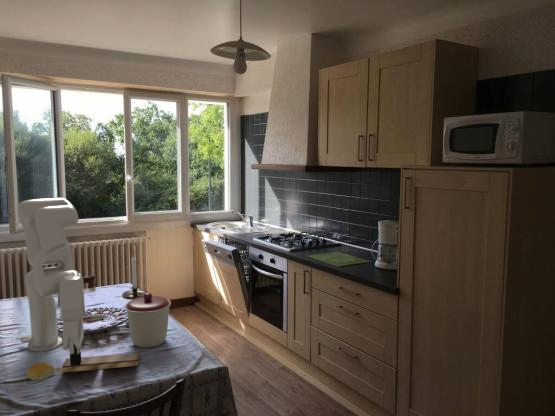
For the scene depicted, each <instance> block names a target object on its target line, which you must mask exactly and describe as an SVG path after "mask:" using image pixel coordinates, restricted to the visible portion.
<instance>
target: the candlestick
mask: <svg viewBox="0 0 555 416" xmlns="http://www.w3.org/2000/svg"><path fill="white" fill-rule="evenodd" d="M131 253H132V257H131V277H132V278H131V281H132V283H131V287H129V288H130V290H127V291H124V292H123V293H122V296H121V297H122V298H123V299H125V300H129V301H131V300H133V299H136V298H139V297H143V296H144V294H145V293H148V291H147V290H145V289H139V288H140V286H138V280H137V278H138V277H137V258H136V257H135V253H134V250H133V249H132V248H131ZM125 327H126V328H129V322H128V320H127V321H126V322H125Z"/></svg>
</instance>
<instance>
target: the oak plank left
mask: <svg viewBox="0 0 555 416" xmlns="http://www.w3.org/2000/svg"><path fill="white" fill-rule="evenodd" d="M92 370H100V369H99V365H88V366H77V367H65V368H62V367H57V368H56V374H62V373H70V372H80V371H81V372H82V371H83V372H84V371H92Z"/></svg>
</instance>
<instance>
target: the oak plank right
mask: <svg viewBox="0 0 555 416" xmlns="http://www.w3.org/2000/svg"><path fill="white" fill-rule="evenodd" d="M135 366H136V367H137V366H139V362H138V361H133V362H121V363H110V364H99V369H98V370H102V369H103V370H104V369H113V368H114V369H115V368H125V367H135Z"/></svg>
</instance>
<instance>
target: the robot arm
mask: <svg viewBox="0 0 555 416" xmlns="http://www.w3.org/2000/svg"><path fill="white" fill-rule="evenodd" d="M16 210H17V217H18V219H19V222H20V225H21V226H22V228H23V230H24V235H25V248H26V257H27V261H28V263H29V265H31V266H33V267H32V270H30V271H29V272H27V273H26V275H25V276H24V285H25V287H26V292H27V297H28V308H29V320H30V321H29V322H30V334H29V335H28V336H26V335H24V336H23V335H22V336H20V342H21V344H27V349H28V350H29V351H32V352H45V351H46V352H47V351H51V350H54V349H57V348H58V347H60V346H61V345H62V349H63V350H64V351H65V350H67V349H68V350H69V358H70V365H71V366H77V365H80V364H81V357H82V352H81V350H82V349H81V348H82V347H81V344H82V342H83V340H84V320H83V319H84V317H86V306H85V305H86V304H85V292H84V291H85V288H84V279H83V277H82V275H81V273H80V272H79V271H77V270H75V269H74V267H73V255H72V247H71V244H70V242H69V241H68V239H67V236H66V232H65V228H66V229H67V228H75V227H76V226H77V225H78V222H79V215H78V212H77V210H76V207H75V206H74V205H73V204H72V203H71V202H70V201H69V200H67V199H66V198H64V197H51V198H36V199H27V200H23V201H21V202H19V203H18V205H17V209H16ZM54 264H58V265H56V266H49V265H54ZM47 265H48V266H49V267H43V266H47ZM58 294H59V296H60V303H59V310H60V311H59V312H60V313H59V314H60V319H61V321H62V337H60V336H59V334H58V333H59V331H58V330H59V329H58V314H57V302H56V300H55V298H54V297H53V296H58Z"/></svg>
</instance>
